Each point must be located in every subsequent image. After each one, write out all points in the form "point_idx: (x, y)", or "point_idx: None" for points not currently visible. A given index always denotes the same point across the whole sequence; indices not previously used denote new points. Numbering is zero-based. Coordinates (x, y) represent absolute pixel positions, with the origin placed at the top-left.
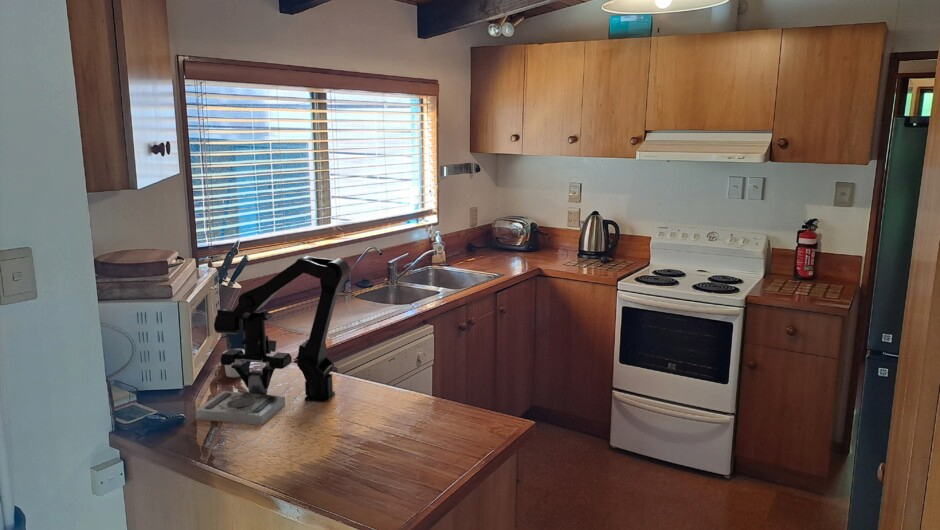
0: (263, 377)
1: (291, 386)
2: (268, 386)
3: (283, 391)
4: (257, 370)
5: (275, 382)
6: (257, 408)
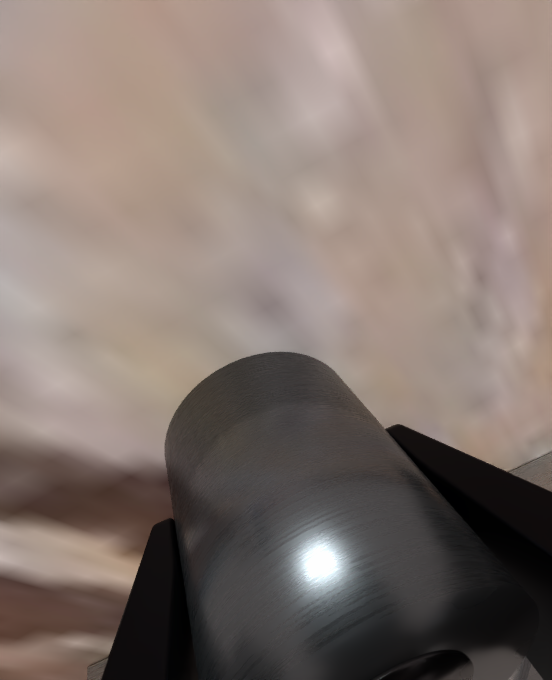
0: (530, 652)
1: (503, 74)
2: (412, 431)
3: (471, 263)
4: (311, 677)
5: (196, 4)
6: (537, 672)
